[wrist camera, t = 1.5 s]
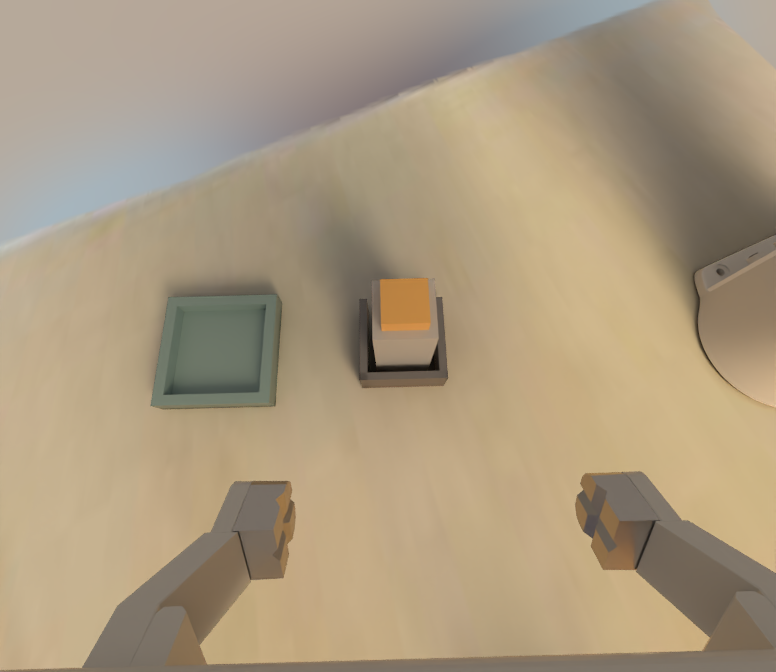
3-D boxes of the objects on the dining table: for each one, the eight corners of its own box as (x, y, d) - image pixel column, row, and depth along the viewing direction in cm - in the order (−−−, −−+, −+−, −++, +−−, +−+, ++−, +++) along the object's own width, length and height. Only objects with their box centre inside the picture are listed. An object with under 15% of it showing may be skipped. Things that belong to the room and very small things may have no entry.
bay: (438, 310, 42) (442, 297, 39) (443, 385, 40) (448, 377, 36) (362, 312, 42) (359, 299, 39) (362, 387, 40) (359, 380, 36)
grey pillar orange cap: (424, 324, 42) (436, 269, 30) (427, 371, 40) (441, 331, 29) (376, 325, 42) (370, 271, 30) (377, 372, 40) (371, 333, 29)
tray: (282, 302, 43) (276, 294, 41) (275, 406, 39) (269, 402, 37) (179, 305, 43) (168, 297, 41) (162, 409, 39) (150, 405, 37)
